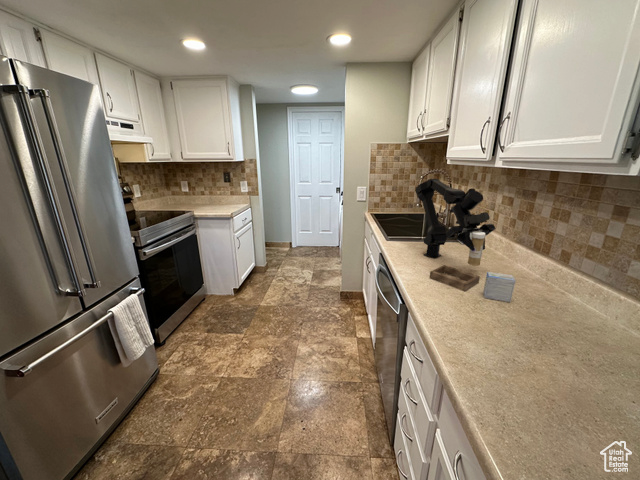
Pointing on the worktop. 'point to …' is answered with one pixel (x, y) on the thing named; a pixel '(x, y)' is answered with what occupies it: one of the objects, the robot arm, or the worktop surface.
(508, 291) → the medicine box
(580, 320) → the worktop surface
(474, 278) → the frame
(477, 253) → the sprinkles bottle
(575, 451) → the worktop surface
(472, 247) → the robot arm
